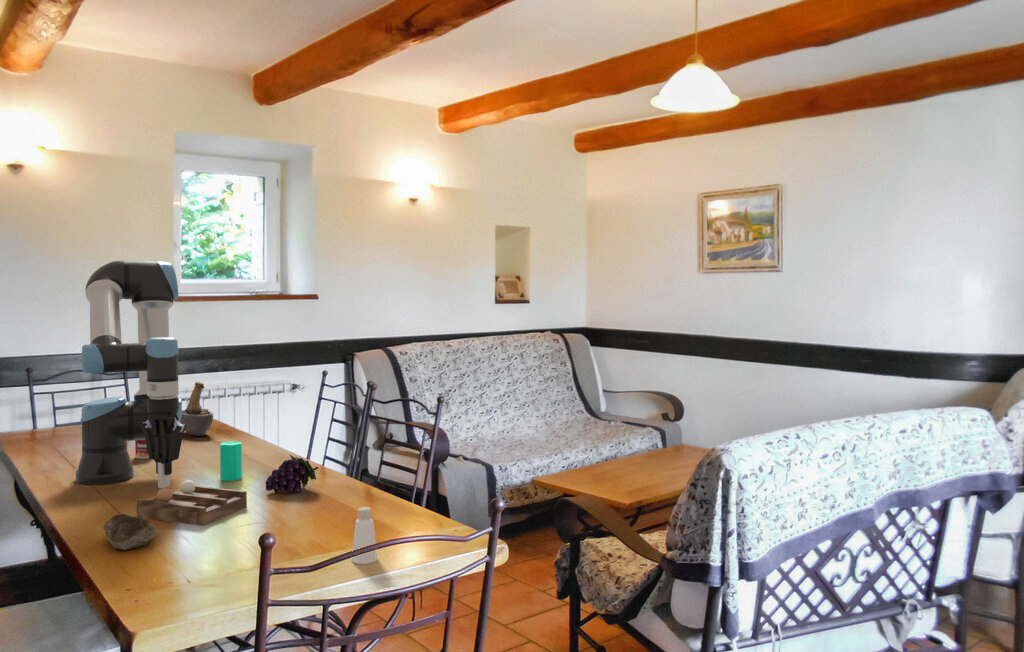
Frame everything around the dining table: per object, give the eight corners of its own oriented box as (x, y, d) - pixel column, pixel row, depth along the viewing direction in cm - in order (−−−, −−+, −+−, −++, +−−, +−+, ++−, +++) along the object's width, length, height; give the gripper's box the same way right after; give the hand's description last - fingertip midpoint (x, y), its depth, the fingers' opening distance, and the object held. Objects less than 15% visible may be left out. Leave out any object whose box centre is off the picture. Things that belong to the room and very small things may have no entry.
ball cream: (177, 495, 198) (177, 481, 198) (187, 491, 202) (187, 478, 202) (188, 496, 197) (188, 482, 197) (198, 493, 201) (198, 479, 200)
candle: (234, 481, 224) (234, 440, 224) (216, 480, 225) (215, 439, 225) (246, 476, 230) (245, 436, 229) (227, 475, 231) (227, 435, 231)
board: (136, 516, 190) (136, 499, 190) (183, 499, 205) (183, 484, 205) (203, 525, 184) (203, 508, 183) (246, 507, 199) (246, 491, 198)
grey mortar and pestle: (209, 438, 284) (209, 384, 283) (164, 438, 284) (163, 384, 283) (225, 431, 299) (224, 379, 298) (182, 430, 299) (181, 379, 298)
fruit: (266, 502, 215) (315, 480, 223) (278, 504, 206) (329, 482, 215) (254, 467, 214) (304, 447, 223) (266, 468, 205) (318, 448, 214)
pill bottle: (134, 459, 250) (134, 426, 249) (135, 455, 256) (135, 422, 255) (155, 458, 252) (155, 424, 252) (156, 454, 258) (156, 421, 257)
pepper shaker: (346, 562, 161) (346, 510, 160) (360, 554, 166) (360, 503, 165) (368, 566, 159) (368, 513, 158) (382, 557, 164) (382, 506, 163)
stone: (92, 534, 171) (115, 501, 174) (121, 549, 176) (144, 517, 179) (113, 549, 162) (137, 514, 166) (144, 564, 167) (167, 530, 170)
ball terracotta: (153, 503, 191) (153, 489, 191) (164, 499, 194) (164, 485, 194) (165, 505, 190) (165, 490, 189) (176, 501, 193) (175, 487, 193)
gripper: (131, 397, 199) (133, 487, 200) (172, 400, 195) (173, 492, 196) (153, 393, 206) (155, 481, 207) (193, 396, 202) (194, 485, 203)
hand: (164, 486), depth 202 cm, fingers closed
